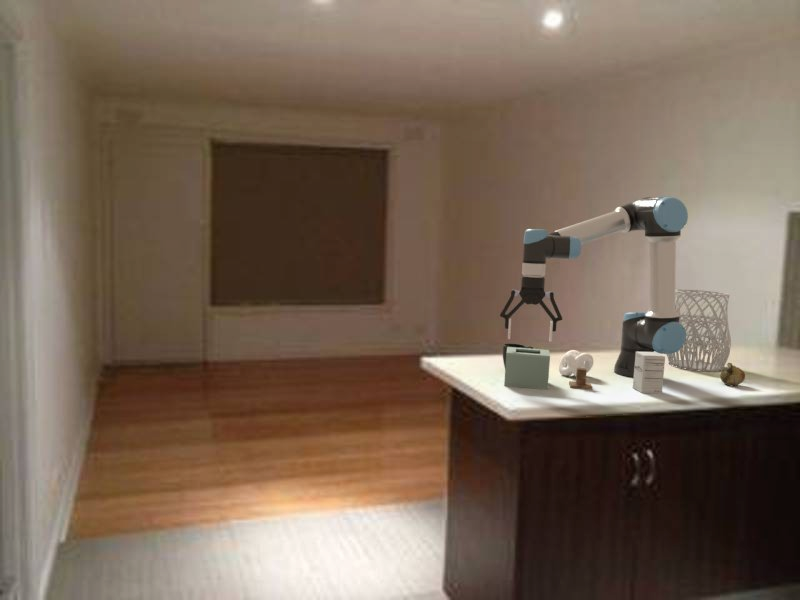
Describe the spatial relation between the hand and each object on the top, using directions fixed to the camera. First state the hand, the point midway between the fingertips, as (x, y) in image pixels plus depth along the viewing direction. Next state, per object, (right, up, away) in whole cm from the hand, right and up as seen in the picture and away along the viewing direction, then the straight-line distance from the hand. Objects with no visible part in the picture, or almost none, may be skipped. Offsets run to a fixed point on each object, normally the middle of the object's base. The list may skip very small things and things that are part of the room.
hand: (529, 340), depth 249 cm
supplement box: (+39, -17, 0) cm, 43 cm away
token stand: (+17, -16, +2) cm, 23 cm away
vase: (+75, -14, +51) cm, 92 cm away
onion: (+74, -17, +17) cm, 78 cm away
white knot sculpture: (+19, -14, +17) cm, 29 cm away
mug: (-1, -13, +23) cm, 26 cm away
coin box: (-1, -15, +1) cm, 15 cm away
